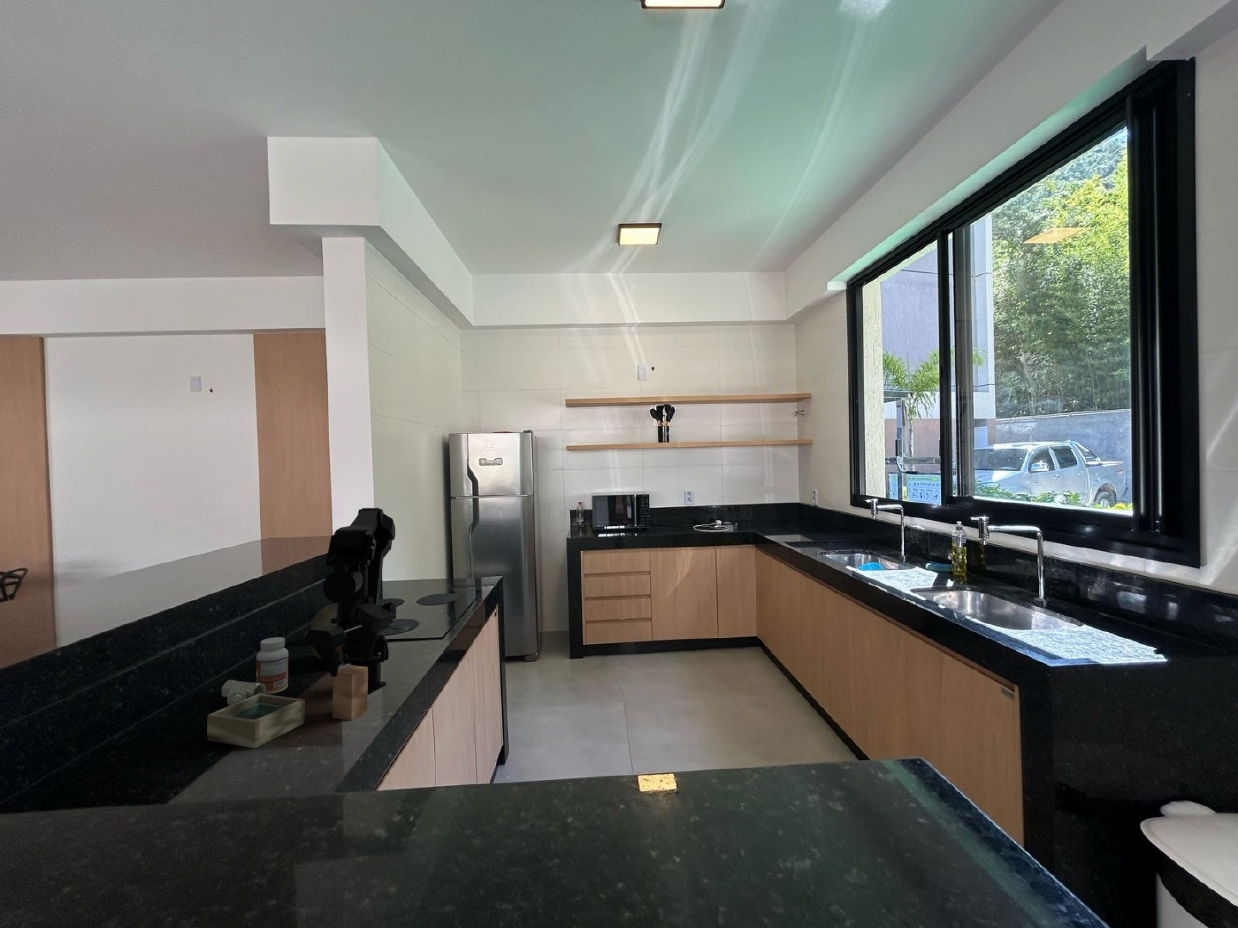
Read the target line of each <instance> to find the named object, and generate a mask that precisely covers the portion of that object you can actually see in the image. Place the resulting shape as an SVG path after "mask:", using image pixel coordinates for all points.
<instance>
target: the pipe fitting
mask: <svg viewBox="0 0 1238 928" xmlns="http://www.w3.org/2000/svg"><path fill="white" fill-rule="evenodd" d="M265 691H266V688H265V684H261V683H256V682H249V681H241V680H240V681H239V680H233V679H232V680H231V679H228V680H227V681H226V682H225V683H224V684H223V685H222V687H221V696H222V697H224V698H226V699H227V700H226V703H227V704H228V706H231V705H233V704H236V703H238V702H240V701H243V700H245V699H248V698H250V697H253V696H255V695H257V694H265Z"/></svg>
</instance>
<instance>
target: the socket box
mask: <svg viewBox="0 0 1238 928" xmlns="http://www.w3.org/2000/svg"><path fill="white" fill-rule="evenodd" d="M305 701H306V699H303V698H295V697H289V696H279V695H274V694H257V695H255V696H253V697H250V698H248V699H245V700H243V701H240V702H238V703H236V704H233V705H231V706H229V705H228V706H226V707H224V708H221V709H219V710H216V711H214V712H212V713H209V714H207V724H206V725H207V730H206V734H207V735H206V740H207V741H211V742H216V743H222V744H228V745H234V746H240V747H246V748H252V749H256V748H258V747H260V746H262V745H264V744H267V743H269V742H270V741H272V740H274V739H277V738H278V737H279V736H282V735H284V734H286V733H287V732H290V731H292V730H294V729H295V728H298V727H300V726H301V725H304V724H305V705H306V704H305V703H306V702H305Z"/></svg>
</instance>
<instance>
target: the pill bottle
mask: <svg viewBox="0 0 1238 928" xmlns="http://www.w3.org/2000/svg"><path fill="white" fill-rule="evenodd" d="M285 644H286V639H285V637H276V636H275V637H269V638H266V639H263V640H261V641H260V649H261V650H260V651H258V653H257V654H256V660H255V662H256V663H255V664H256V666H255V669H256V670H255V672H256V673H255V683H261V684H265V688H266V691H265V694H267V695H274V694H277V693H280V692H283V691H285V690H286V689H287V688H288V686H289V651H288V649H287V648H285V646H286V645H285Z"/></svg>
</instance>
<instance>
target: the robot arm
mask: <svg viewBox="0 0 1238 928" xmlns="http://www.w3.org/2000/svg"><path fill="white" fill-rule="evenodd" d="M357 512H358V513H357V516H356V517H355V518H354V520H353V521H352V522H351V523H350V525H348V526H347V525H346V526H342V527H339V528H337V529H336V530H335V532H334V533H333V534H332V535H331V536H330V540H329V545H328V550H327V555H326V561H325V567H333V571H332V572H331V573H330V574H329V575H327V576H326V578H325V579H324V580H323V584H322V590H323V591H322V592H323V595H324V596H325V597H326V598H327V599H328V600H329V601H330V602H331V603H330V604H334V603H336V617H334V618H331V624H337V626H331V625H320V626H317V627H313V628H310V627H309V628H310V629H309V628H308V629H307V630H306V632H304V645H306V646H307V645H308V646H309V647H310V648H311V647H314V648H315V650H316V651H317V653H318V654H319V655H320V657H321V659H322V660H323V661H322V660H321V661H322V663H323V665H325V668H326V669H327V672H328V673H329V676H331V678H333V677H336V676H337V673H338V670H339V663H340V662H339V651H340V649H341V648H342V651H343V661H342V662H343V665H353V666H362V667H368V695H369V694H371V693H373V692H375V691H376V690H378V689H380V688H382V687H384V686H386V685H387V681H382V678H381V677H382V676H381V674H382V670H381V669H382V663H384V662H385V661H386V662H387V661H388V660H389V658H390V650H389V642H388V640H387V638H386V635H385V634H384V631H385V630H388V629H390V625H391V624H393V620H395V619H397V605H396V604H397V603H394V602H393V601H387V602H385V603H383V604H380V596H381V595H380V594H381V586H382V584H381V583H382V576H383V574H382V573H383V568H384V567H383V564H384V558H385V557H386V556H387V555H388V554H389V552H390V551H391V550H392V546H393V541H395V538H396V525H395V521H394V519H393V518H392V517H391V516H388V515H387V514H385V512H384V509H383V508H379V507H362V508H360V509H358V511H357ZM346 627H347V628H346ZM345 633H347V634H346V636H345ZM342 641H343V643H342Z"/></svg>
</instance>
